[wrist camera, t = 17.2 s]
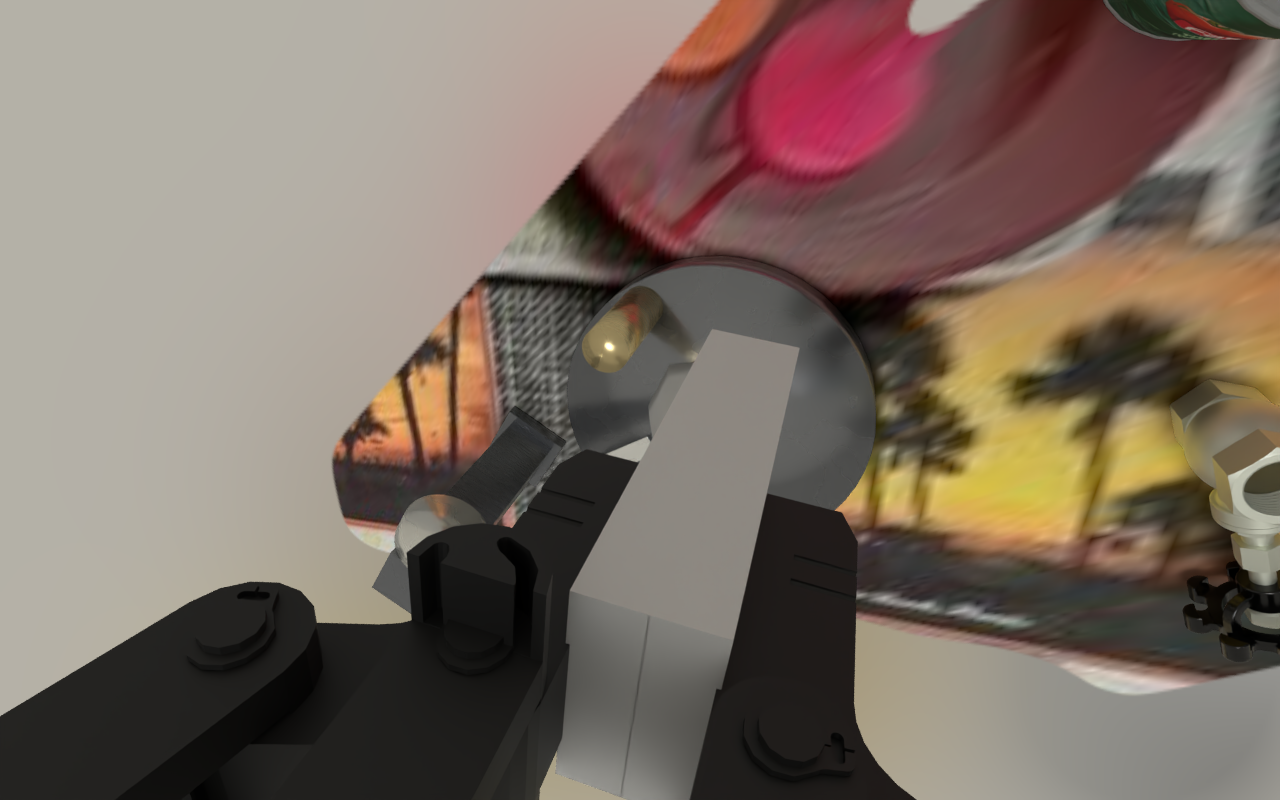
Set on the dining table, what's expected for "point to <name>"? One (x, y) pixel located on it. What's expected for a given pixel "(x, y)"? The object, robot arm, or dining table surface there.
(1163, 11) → the canned tomato
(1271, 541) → the valve
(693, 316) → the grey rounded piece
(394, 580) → the post
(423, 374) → the dining table surface
